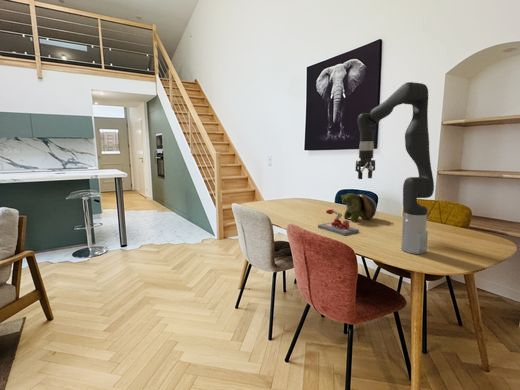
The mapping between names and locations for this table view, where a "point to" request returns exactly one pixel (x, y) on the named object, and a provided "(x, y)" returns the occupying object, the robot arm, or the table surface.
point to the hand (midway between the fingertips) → (365, 178)
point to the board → (338, 229)
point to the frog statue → (358, 206)
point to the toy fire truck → (337, 222)
